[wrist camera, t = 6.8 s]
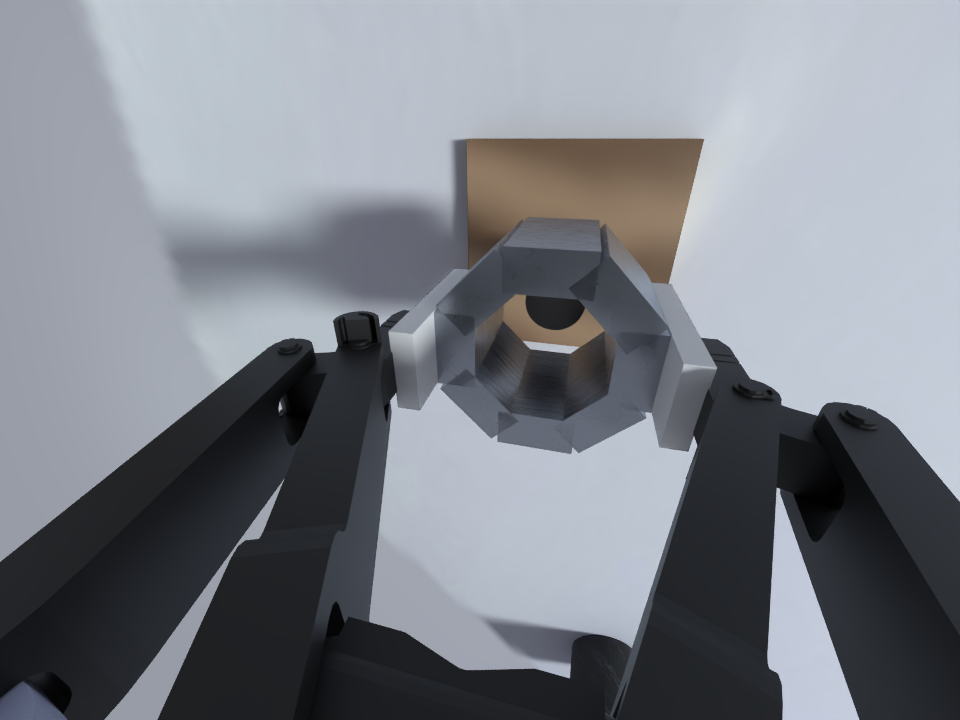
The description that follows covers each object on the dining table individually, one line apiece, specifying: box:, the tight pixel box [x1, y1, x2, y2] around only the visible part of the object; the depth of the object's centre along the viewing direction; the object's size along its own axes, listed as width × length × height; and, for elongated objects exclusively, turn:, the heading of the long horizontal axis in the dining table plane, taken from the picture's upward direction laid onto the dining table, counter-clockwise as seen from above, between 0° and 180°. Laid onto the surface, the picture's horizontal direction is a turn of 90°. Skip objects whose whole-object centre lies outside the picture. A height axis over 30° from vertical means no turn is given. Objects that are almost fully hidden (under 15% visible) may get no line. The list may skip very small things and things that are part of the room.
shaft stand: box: [467, 139, 704, 347], centre depth 20 cm, size 12×12×9 cm
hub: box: [434, 217, 671, 454], centre depth 15 cm, size 7×7×5 cm
